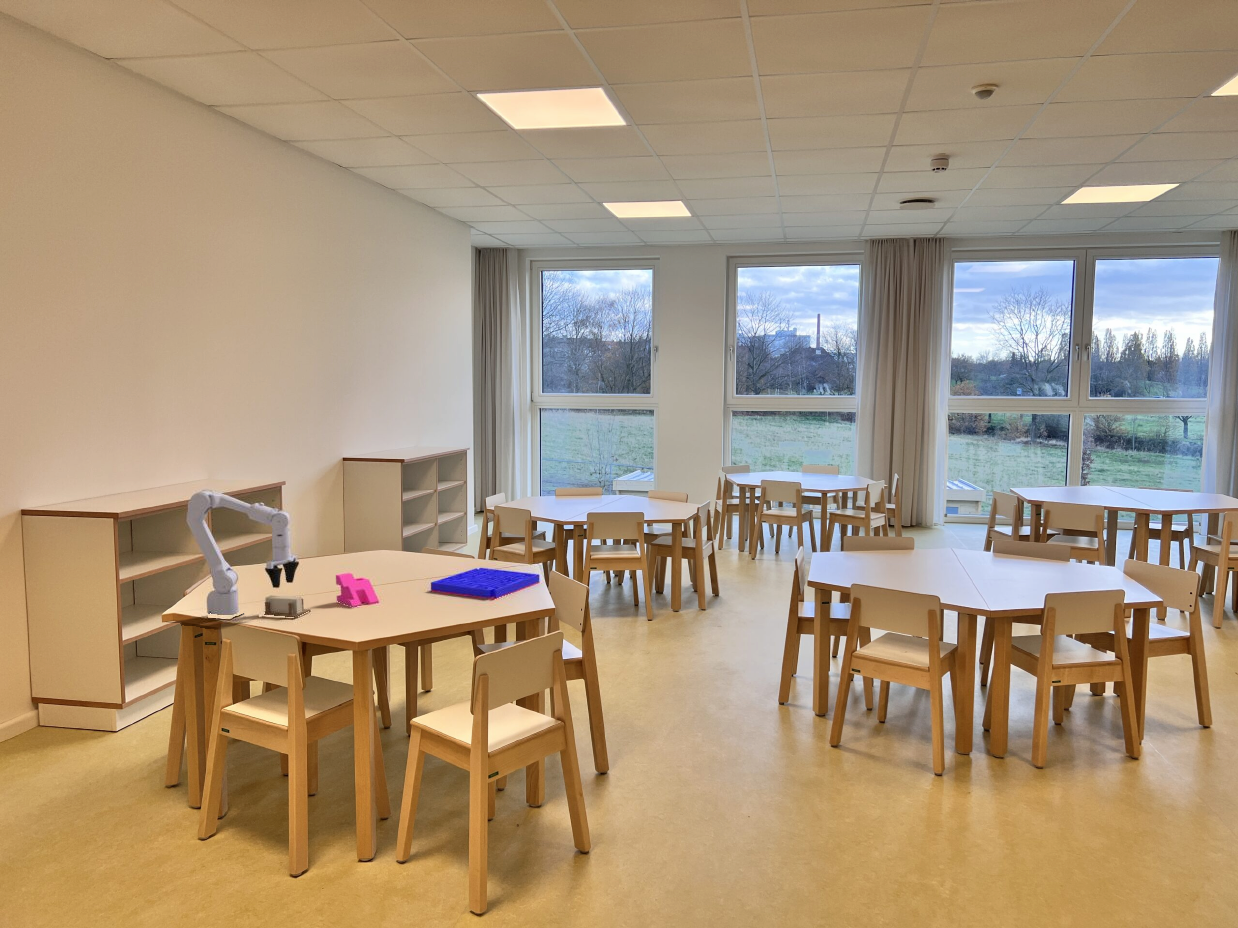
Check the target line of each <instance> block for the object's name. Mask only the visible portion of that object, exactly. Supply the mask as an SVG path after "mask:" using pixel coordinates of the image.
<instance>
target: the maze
mask: <svg viewBox="0 0 1238 928" xmlns="http://www.w3.org/2000/svg"><path fill="white" fill-rule="evenodd" d="M538 584H540V574H539V573H531V572H530V573H528V572H521V571H513V570H512V571H511V570H504V569H496V568H495V569H494V568H488V567H479V568H477V567H476V568H473V569H470V570H466V571H464V572H459V573H457V574H453V575H451V576H448V577H444V578H441V579H437V580H434V581H431V582H430V591H431V592H433V593H441V594H448V595H454V594H455V596H462V595H463V597H469V596H471V598H477V597H479V598H478V599H484V598H488V599H487V600H491V599H496V600H498V599H500V598H499V597H501V598H503V597H502V596H504V597H506V596H509V595H512V594H514V593H516V592H517V593H518V592H519V591H522V590H524V589H527V588H530V587H532V586H536V585H538ZM511 593H512V594H511ZM508 594H509V595H508ZM505 595H506V596H505ZM497 598H498V599H497Z"/></svg>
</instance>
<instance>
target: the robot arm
mask: <svg viewBox="0 0 1238 928" xmlns="http://www.w3.org/2000/svg"><path fill="white" fill-rule="evenodd" d="M220 507H225V508H228V509H232V510H234V511H238V512H241V513H244V514H247V515H248V518H249V520H253V521H256V522H259V523H261V524H264V525H267V526H268V525H270V526H271V528H272V529H271V530H272V533H271V537H272V538H271V540H272V541H271V543H272V559H271V560H269V561H268V562H266V565H265V566H266V567H264V568H265V569H264V571H265V573H266V574H267V575H268V576H269V580H270V582H271V585H272V588H273V589H277V588H280V586H281V576H282V575H281V574H282V573H283V572H282V571H283V570H284V574H285V582H286V583H288V584H289V583H294V579H295V575H296V571H297V568H298V567H299V565H300V562H299V561H298V555H297V554H292V553H291V551H292V550H291V533H290V525H289V524H290V522H291V516H290V515H289V513H288V512H287V511H285V510H282V509H281V510H279V509H278V508H272V507H269V506H266V505H265V503H263V502H260V503H259V502H255V503H253V504H250V503H247V502H245V501H242V500H239V499H238V498H235V497H233V496H230V495H226V494H224V493H221V492H219V491H212V490H211V489H202V490H201V491H199V492H196V493H194V494H193V495H192V496H191V497H190V499H189V500H188V502H187V514H186V519H185V520H186V523H187V525H188V529H190V532H191V533H192V536H193V537H194V540H195V541H196V543H197V545H198V547H199V549H200V551H201V553H202V555H203V557H204V559H205V561H206V563H207V565H208V567H209V569H210V577H211V579H212V587H213V589H214V590H210V592H209V593H208V594H207V596H206V611H207V612H206V614H207V613H208V614H210V613H211V614H217V615H234V614H237V613H238V612H240V609H239V589H238V587H237V586H236V585H237V583H238V580H239V575H238V573H237V571H235V570H234V569H232V567H231V566H230V564H229V563H228V562H227V561H226V560H225V558H224V556H223V554H222V552H221V549H220V548H219V547H218V545H217V543H216V539H215V538H214V537H213V534H212V533H211V530H210V528H209V526H208V525H207V522H206V521H205V520H206V517H207V515H208V513H209V511H210V510H211V509H214V508H220ZM281 565H282V567H280V566H281Z"/></svg>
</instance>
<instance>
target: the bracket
mask: <svg viewBox="0 0 1238 928" xmlns="http://www.w3.org/2000/svg"><path fill="white" fill-rule="evenodd" d="M335 585H337V586H340V594H339V595H336V602H337V601H338V602H340V603H342V604H345V605H348V606H351V607H357V606H362V604H363V603H362V602H365V603H364V604H368V605H375V604H379V603H380V600H379V598H378V596H377V594H376V592H375V590H374V587H373V585H372V583H371V580H370V579H368V578H366V577H357V578H355V576H354V574H353V573H351V572H347V573H341V574H335ZM340 603H339V604H340ZM342 604H341V605H342ZM345 605H344V606H345ZM348 606H347V607H348ZM357 608H358V607H357Z"/></svg>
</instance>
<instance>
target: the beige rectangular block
mask: <svg viewBox="0 0 1238 928" xmlns="http://www.w3.org/2000/svg"><path fill="white" fill-rule="evenodd" d="M302 599H303V597H302V596H289V595H288V596H285V595H283V596H282V595H269V596H266V597H265V602H266V601H269V602H270V612H276V613H289V606H288V603H293V608H294V614H298V613H300V612H302Z"/></svg>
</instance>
